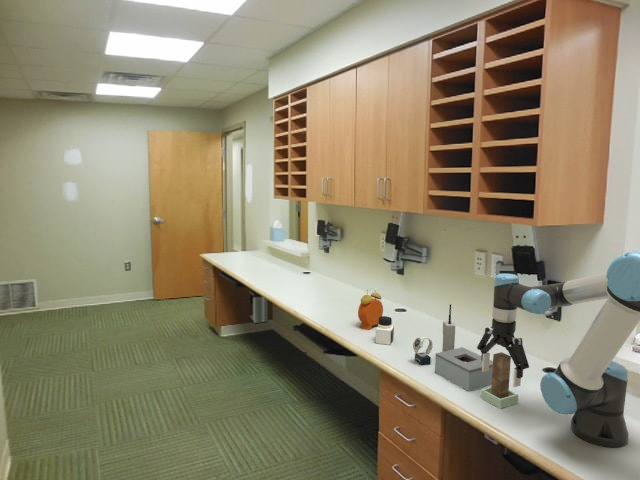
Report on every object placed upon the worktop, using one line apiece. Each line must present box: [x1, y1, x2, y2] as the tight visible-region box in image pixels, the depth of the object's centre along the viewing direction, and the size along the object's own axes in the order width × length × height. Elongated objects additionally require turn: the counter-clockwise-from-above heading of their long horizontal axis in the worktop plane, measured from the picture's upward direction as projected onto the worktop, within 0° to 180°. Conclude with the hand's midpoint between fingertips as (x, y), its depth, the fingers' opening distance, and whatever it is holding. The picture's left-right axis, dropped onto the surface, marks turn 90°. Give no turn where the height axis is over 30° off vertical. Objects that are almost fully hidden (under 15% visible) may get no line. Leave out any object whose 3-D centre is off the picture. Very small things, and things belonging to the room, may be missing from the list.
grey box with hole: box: [434, 346, 493, 392], centre depth 184 cm, size 18×14×8 cm
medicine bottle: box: [375, 315, 395, 346], centre depth 221 cm, size 7×7×12 cm
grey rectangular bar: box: [441, 303, 456, 352], centre depth 198 cm, size 4×5×25 cm
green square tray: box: [480, 386, 519, 409], centre depth 166 cm, size 9×9×3 cm
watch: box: [412, 336, 434, 367], centre depth 198 cm, size 6×8×11 cm
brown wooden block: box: [490, 352, 512, 399], centre depth 165 cm, size 4×4×16 cm
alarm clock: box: [357, 287, 384, 331], centre depth 242 cm, size 13×6×20 cm, turn 135°
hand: (500, 378), depth 165 cm, fingers open, 13 cm apart
